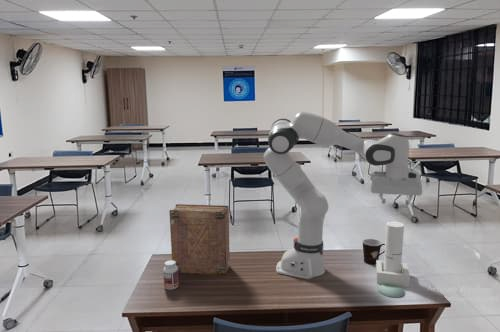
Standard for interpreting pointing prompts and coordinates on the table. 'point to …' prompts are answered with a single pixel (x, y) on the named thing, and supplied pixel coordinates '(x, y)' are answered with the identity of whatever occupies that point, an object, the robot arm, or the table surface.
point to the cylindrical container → (393, 247)
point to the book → (200, 238)
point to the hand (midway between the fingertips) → (395, 204)
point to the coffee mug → (371, 251)
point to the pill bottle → (171, 275)
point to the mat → (391, 290)
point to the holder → (392, 275)
